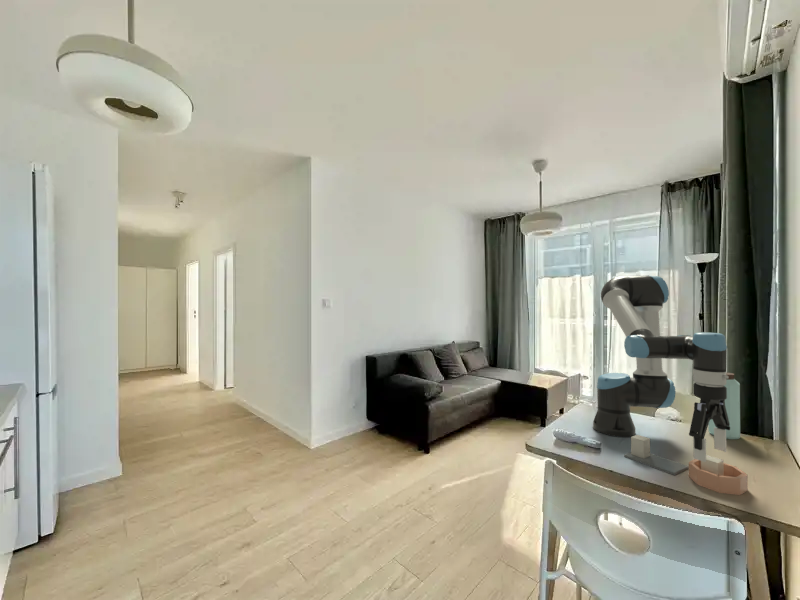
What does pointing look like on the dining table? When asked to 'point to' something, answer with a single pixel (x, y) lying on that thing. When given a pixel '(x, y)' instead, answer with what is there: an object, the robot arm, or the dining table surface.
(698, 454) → the robot arm
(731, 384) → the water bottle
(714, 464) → the stone
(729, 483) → the bowl
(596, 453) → the dining table surface
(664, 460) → the slate board
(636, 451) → the stone
